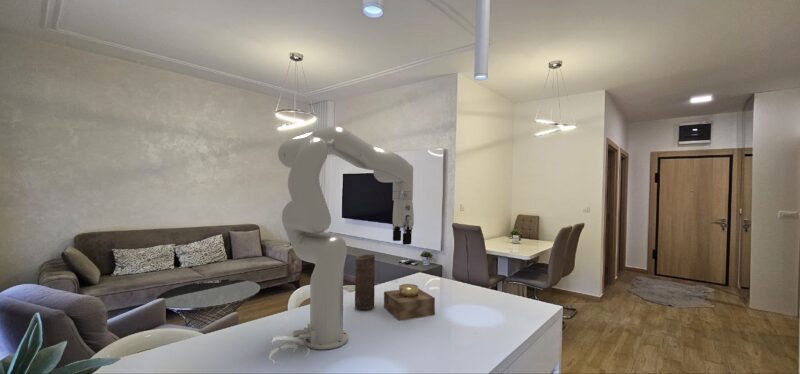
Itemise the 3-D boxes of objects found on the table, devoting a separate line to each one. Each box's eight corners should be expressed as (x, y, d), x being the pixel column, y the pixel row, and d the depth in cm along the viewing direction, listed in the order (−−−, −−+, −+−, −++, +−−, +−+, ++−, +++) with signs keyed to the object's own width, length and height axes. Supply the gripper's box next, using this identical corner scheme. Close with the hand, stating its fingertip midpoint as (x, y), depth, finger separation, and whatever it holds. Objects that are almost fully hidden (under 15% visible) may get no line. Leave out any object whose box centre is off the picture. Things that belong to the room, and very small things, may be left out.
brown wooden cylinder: (373, 312, 126) (373, 257, 127) (353, 311, 127) (353, 256, 127) (375, 305, 134) (375, 253, 134) (356, 304, 134) (356, 253, 134)
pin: (403, 314, 123) (403, 290, 123) (395, 307, 130) (396, 285, 130) (421, 311, 126) (421, 287, 126) (412, 305, 133) (412, 283, 133)
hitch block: (398, 320, 119) (399, 302, 119) (383, 307, 131) (384, 291, 131) (434, 314, 124) (434, 297, 124) (417, 302, 137) (417, 287, 137)
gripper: (421, 197, 124) (420, 245, 123) (402, 196, 140) (402, 239, 139) (402, 196, 121) (401, 246, 120) (385, 196, 137) (384, 239, 136)
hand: (401, 242), depth 130 cm, fingers open, 9 cm apart
